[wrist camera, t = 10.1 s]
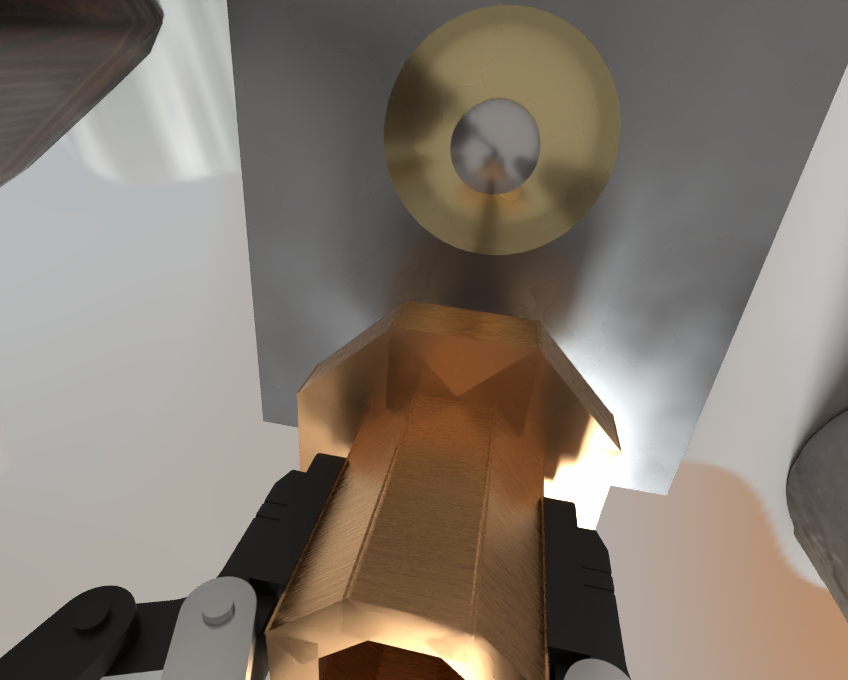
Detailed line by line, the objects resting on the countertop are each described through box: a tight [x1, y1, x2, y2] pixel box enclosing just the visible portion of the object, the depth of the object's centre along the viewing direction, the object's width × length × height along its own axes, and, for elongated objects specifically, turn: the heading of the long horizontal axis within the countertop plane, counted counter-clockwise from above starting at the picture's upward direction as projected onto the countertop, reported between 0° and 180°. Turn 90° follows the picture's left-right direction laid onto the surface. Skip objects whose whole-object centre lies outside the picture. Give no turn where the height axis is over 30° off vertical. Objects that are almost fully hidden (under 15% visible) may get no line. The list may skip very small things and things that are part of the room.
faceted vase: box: [264, 300, 622, 680], centre depth 12 cm, size 8×8×7 cm
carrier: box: [227, 0, 848, 495], centre depth 13 cm, size 24×16×7 cm, turn 176°
